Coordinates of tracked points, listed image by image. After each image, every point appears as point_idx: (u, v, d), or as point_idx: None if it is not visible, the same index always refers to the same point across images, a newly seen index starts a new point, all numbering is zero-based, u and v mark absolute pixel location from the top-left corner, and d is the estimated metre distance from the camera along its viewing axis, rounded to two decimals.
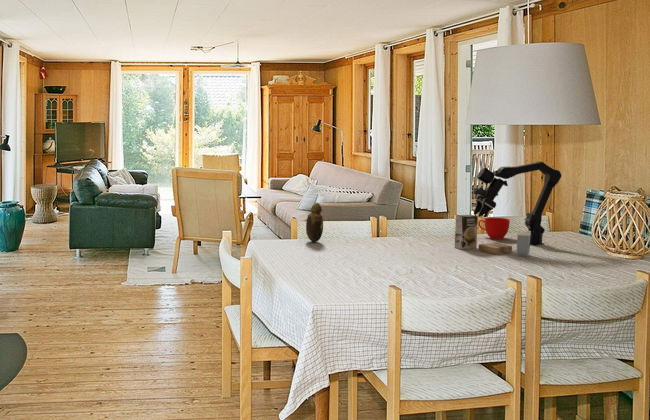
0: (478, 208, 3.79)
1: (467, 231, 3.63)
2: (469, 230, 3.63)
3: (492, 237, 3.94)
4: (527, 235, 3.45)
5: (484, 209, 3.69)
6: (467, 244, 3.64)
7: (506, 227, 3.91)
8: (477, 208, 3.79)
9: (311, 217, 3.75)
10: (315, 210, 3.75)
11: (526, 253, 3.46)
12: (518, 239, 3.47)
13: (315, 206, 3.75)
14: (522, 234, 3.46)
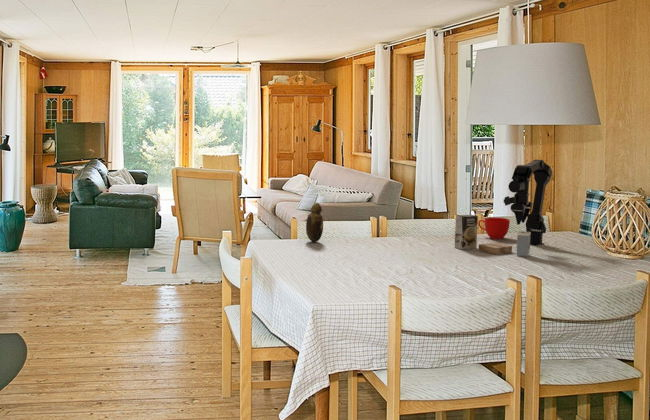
0: (523, 215, 3.65)
1: (467, 231, 3.63)
2: (469, 230, 3.63)
3: (492, 237, 3.94)
4: (527, 235, 3.45)
5: (518, 215, 3.56)
6: (467, 244, 3.64)
7: (506, 227, 3.91)
8: (522, 215, 3.65)
9: (311, 217, 3.75)
10: (315, 210, 3.75)
11: (526, 253, 3.46)
12: (518, 239, 3.47)
13: (315, 206, 3.75)
14: (522, 234, 3.46)
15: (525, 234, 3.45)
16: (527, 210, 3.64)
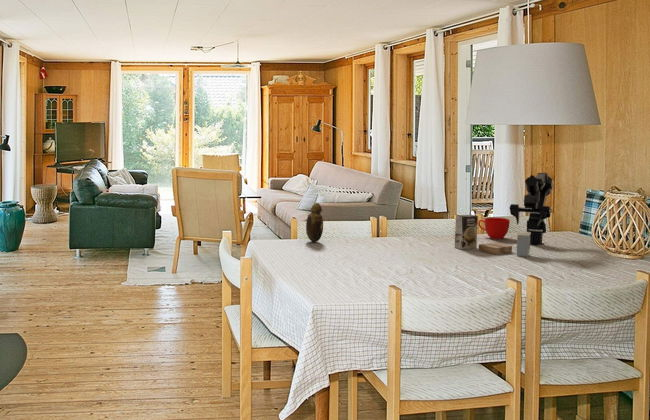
0: (518, 218, 3.59)
1: (467, 231, 3.63)
2: (469, 230, 3.63)
3: (492, 237, 3.94)
4: (527, 235, 3.45)
5: (541, 218, 3.55)
6: (467, 244, 3.64)
7: (506, 227, 3.91)
8: (518, 217, 3.59)
9: (311, 217, 3.75)
10: (315, 210, 3.75)
11: (526, 253, 3.46)
12: (518, 239, 3.47)
13: (315, 206, 3.75)
14: (522, 234, 3.46)
15: (525, 234, 3.45)
16: None
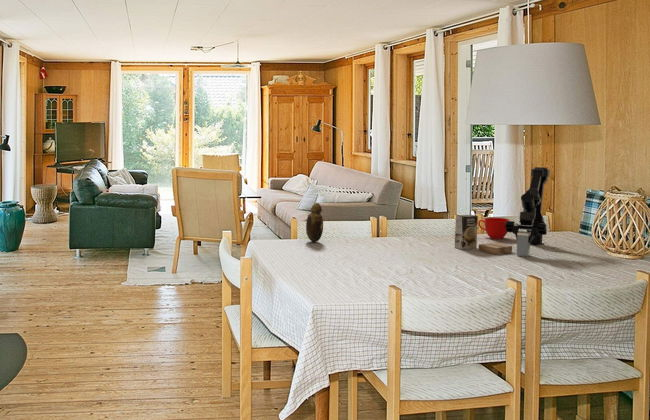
0: None
1: (467, 231, 3.63)
2: (469, 230, 3.63)
3: (492, 237, 3.94)
4: (527, 235, 3.45)
5: (533, 235, 3.48)
6: (467, 244, 3.64)
7: None
8: None
9: (311, 217, 3.75)
10: (315, 210, 3.75)
11: (526, 253, 3.46)
12: (518, 239, 3.47)
13: (315, 206, 3.75)
14: (522, 234, 3.46)
15: (525, 234, 3.45)
16: None
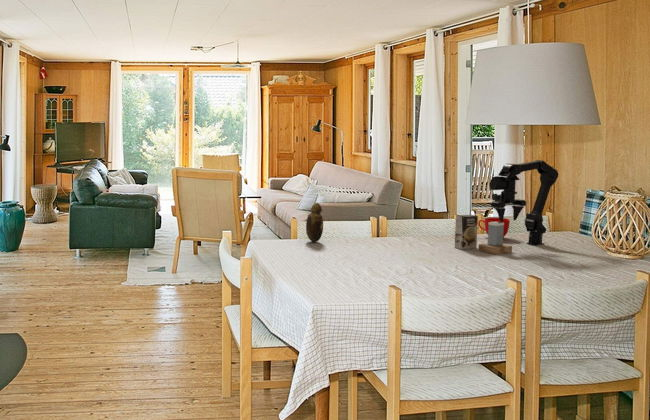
0: (515, 212, 3.72)
1: (467, 231, 3.63)
2: (469, 230, 3.63)
3: None
4: (496, 225, 3.54)
5: (500, 212, 3.66)
6: (467, 244, 3.64)
7: (506, 227, 3.91)
8: (514, 213, 3.72)
9: (311, 217, 3.75)
10: (315, 210, 3.75)
11: (495, 243, 3.55)
12: (489, 228, 3.58)
13: (315, 206, 3.75)
14: (492, 224, 3.56)
15: (494, 224, 3.55)
16: (518, 208, 3.70)
